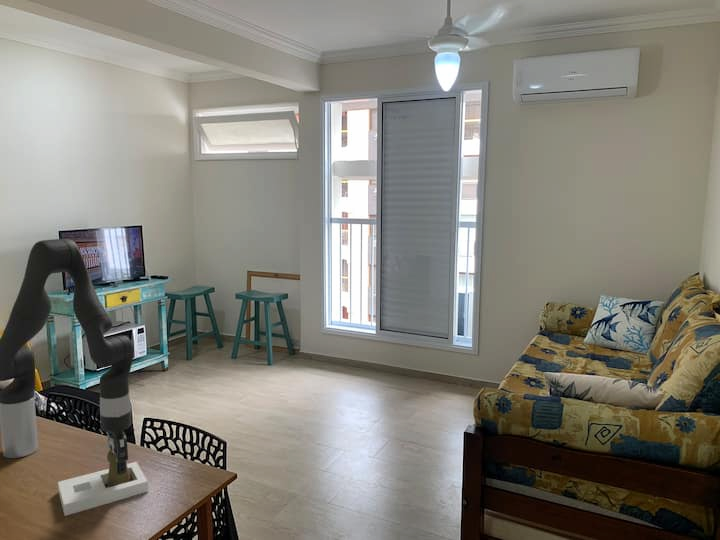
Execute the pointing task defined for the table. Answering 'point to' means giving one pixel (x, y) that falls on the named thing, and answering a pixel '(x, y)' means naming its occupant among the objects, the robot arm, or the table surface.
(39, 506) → the table surface
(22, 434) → the robot arm
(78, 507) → the socket board
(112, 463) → the olive knobbed peg
